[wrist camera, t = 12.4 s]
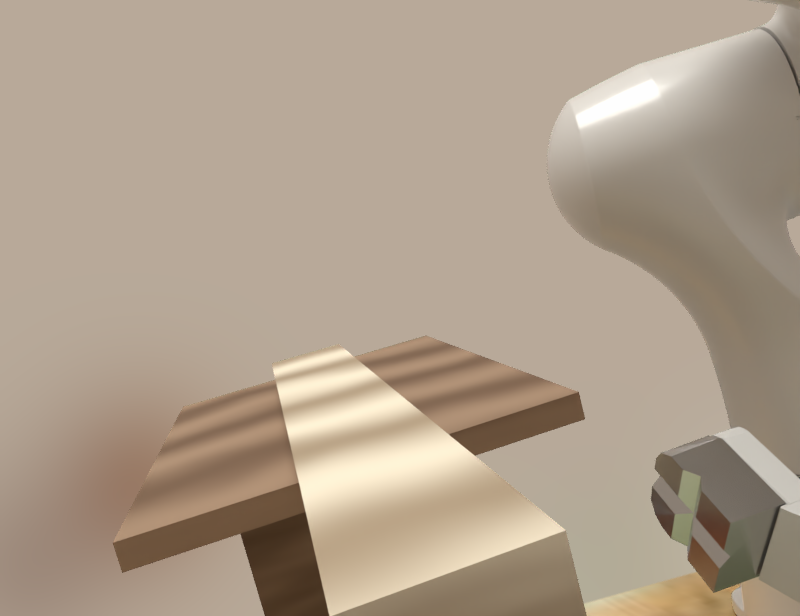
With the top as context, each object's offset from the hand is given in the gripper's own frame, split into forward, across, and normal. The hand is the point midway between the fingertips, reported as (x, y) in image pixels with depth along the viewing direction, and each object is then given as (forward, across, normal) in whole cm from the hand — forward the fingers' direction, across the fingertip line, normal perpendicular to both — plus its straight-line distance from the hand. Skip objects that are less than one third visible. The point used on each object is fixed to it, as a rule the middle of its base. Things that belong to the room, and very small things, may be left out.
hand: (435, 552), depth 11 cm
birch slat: (+12, 0, +9) cm, 15 cm away
